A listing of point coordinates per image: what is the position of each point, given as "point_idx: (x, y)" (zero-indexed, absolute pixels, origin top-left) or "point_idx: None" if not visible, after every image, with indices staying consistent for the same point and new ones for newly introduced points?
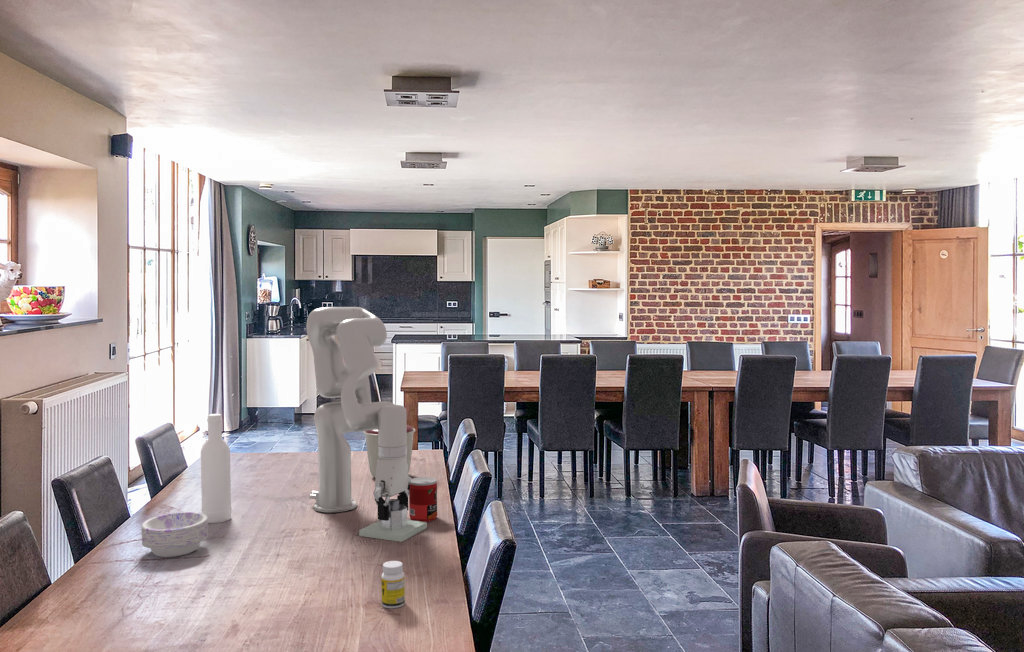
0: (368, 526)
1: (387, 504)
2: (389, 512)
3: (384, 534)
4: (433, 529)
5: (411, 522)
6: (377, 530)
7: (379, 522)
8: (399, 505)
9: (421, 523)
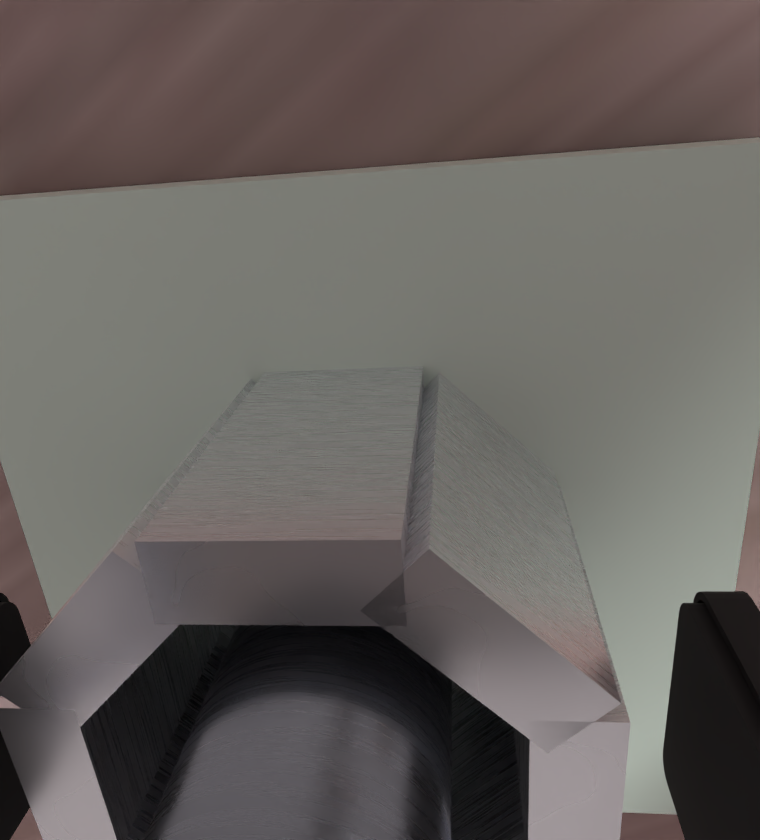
0: (152, 214)
1: (157, 820)
2: (53, 833)
3: (53, 604)
4: (644, 823)
5: (625, 673)
6: (88, 465)
7: (220, 415)
8: (536, 833)
9: (626, 787)
